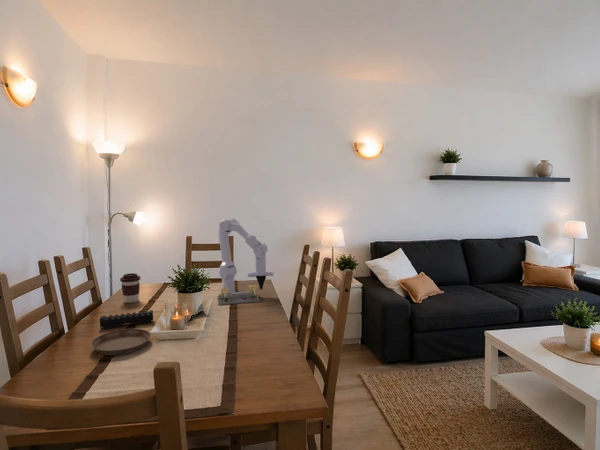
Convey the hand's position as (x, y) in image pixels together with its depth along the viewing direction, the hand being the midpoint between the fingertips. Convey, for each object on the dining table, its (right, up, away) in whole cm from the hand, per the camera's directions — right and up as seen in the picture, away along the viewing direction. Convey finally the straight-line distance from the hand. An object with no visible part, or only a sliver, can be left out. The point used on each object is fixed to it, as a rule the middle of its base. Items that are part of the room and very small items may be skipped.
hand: (261, 288), depth 202 cm
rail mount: (-56, -9, -42) cm, 71 cm away
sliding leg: (-4, -3, -3) cm, 6 cm away
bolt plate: (-12, -5, -6) cm, 14 cm away
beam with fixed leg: (-13, -4, -5) cm, 14 cm away
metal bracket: (-31, -8, -30) cm, 44 cm away
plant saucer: (-47, -11, -66) cm, 81 cm away
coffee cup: (-71, -6, -7) cm, 72 cm away
